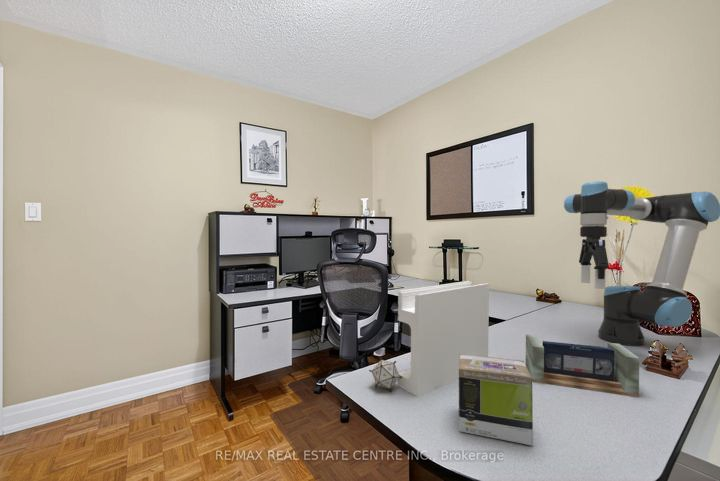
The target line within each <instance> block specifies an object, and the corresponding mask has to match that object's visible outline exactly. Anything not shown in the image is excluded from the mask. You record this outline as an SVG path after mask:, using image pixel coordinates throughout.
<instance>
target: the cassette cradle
mask: <svg viewBox="0 0 720 481" xmlns="http://www.w3.org/2000/svg"><path fill="white" fill-rule="evenodd" d="M607 348H612V349H613V350H615V351H614V352H615V358H613V359H614V360H615V362H614V382H612V381H605V380H598V379H590V378H583V377H575V376H568V375H561V374H553V373H546V372H544V347H543V343H542V342H541V341H540V339H539V338H538V336H537V335H535V334H534V335H533V334H527V333H526V334H525V365H526V367H527V369H528V371H529V373H530V375H531V377H532V383H537V384H538V383H540V384H547V385H554V386H559V387H565V388H566V387H567V388H573V389H578V390H579V389H581V390H587V391H588V390H589V391H594V392H601V393H606V394H607V393H609V394H614V395H621V396H628V397H636V398H639V397H640V394H639V393H640V362H641V361H640V357H638V356H637V355H636V354H635V353H633V352H631V351H630V350H628V349H627V348H626V347H625V346H624V345H623V344H618V343H613V342H607Z"/></svg>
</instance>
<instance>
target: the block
mask: <svg viewBox="0 0 720 481" xmlns="http://www.w3.org/2000/svg"><path fill="white" fill-rule="evenodd" d="M472 284H473V282H472V281H471V280H465V281H464V280H463V281H459V282H458V281H457V282H451V283H450V282H449V283H445V284H436V285H430V286H423V287H414V288H409V289H401V290H398V291H397V292H398V293H397V294H398V297H397V299H398V300H397V305H398V307H397V315H398V316H397V321H399V322H402V323H404V324H407V325H408V326H409V327H410V369H407V370H404V371H401V372H398V374H399V376H401V377H402V378H399V379H398V380H397V386H398V387H400V388H402V389H403V390H405V391H406V392H409V393H410V394H411V395H413V396H416V397H418V398H419V397H421V396H424V395H425V394H427V393H430V392H432V391H434V390H436V389H438V388H442V387H443V386H445V385H447V384H449V383H451V382H454V381H456V380H459V356H460V354H466V355H476V356H485V357H489V330H490V329H489V323H490V322H489V320H490V319H489V317H490V315H489V314H490V313H489V312H490V283H489V282H488V283H487V282H486V283H480V284H474V285H472Z"/></svg>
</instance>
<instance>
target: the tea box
mask: <svg viewBox="0 0 720 481" xmlns="http://www.w3.org/2000/svg"><path fill="white" fill-rule="evenodd" d="M533 408H534V405H533V382H532V377H531V375H530V373H529V371H528V369H527V367H526V362H525V360H520V359H510V358H501V357H492V356H488V357H485V356H476V355H466V354H460V356H459V379H458V430H459V432H461V433H467V434H472V435H476V436H483V437H487V438H493V439H495V440H496V439H497V440H503V441H507V442H512V443H518V444H523V445H527V446H534V445H533V440H534V438H533V437H534V434H533V433H534V431H533V427H534V425H533V424H534V422H533V419H534V418H533V417H534V416H533Z"/></svg>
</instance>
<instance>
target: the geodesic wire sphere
mask: <svg viewBox="0 0 720 481" xmlns="http://www.w3.org/2000/svg"><path fill="white" fill-rule="evenodd" d="M379 360H380V361H378V363H377V364H376V365H375V366H374V367H373V369H369V370H368V371H369V372H370V373H371V374H372V376H373V377H372V378H373V380H374V381H375V385H374V387H375V388H377V387H378V386H379V387H381V388H384V389H387V390H389V392H390V393H392V389H393V386H394V385H395V384H397V382H398V379H399V378H402V377H401V376H399V374H398V373H399V372H398V369H397V366H396V363H397V361H396V360H394V361H392V362H391V361H387V360H384V359H382V357H379Z"/></svg>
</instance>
